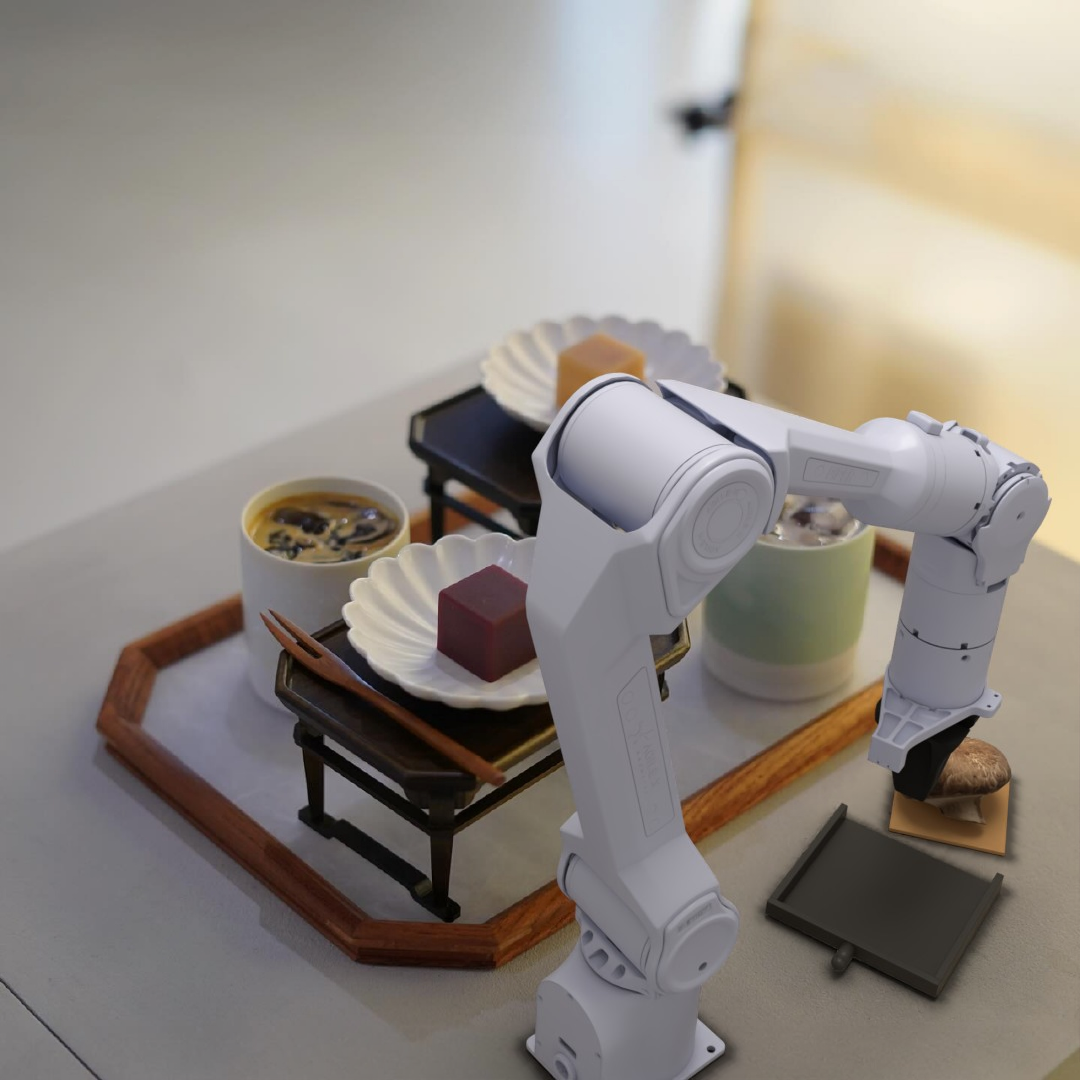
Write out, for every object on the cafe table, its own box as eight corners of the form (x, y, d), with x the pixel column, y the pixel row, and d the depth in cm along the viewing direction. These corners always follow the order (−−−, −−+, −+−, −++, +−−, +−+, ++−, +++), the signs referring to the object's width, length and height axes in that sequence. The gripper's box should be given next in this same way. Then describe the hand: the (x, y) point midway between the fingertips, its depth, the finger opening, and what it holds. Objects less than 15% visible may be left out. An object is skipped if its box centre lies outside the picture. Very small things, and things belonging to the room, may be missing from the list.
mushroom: (1019, 831, 103) (999, 740, 103) (902, 847, 106) (882, 759, 106) (1023, 805, 111) (1004, 721, 111) (914, 822, 113) (895, 739, 114)
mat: (1004, 856, 106) (1004, 853, 106) (888, 830, 108) (889, 827, 108) (1009, 781, 113) (1010, 778, 112) (900, 758, 114) (900, 755, 114)
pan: (838, 818, 109) (841, 802, 108) (1000, 891, 103) (1004, 875, 102) (749, 936, 100) (752, 919, 99) (921, 1023, 94) (925, 1006, 93)
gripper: (966, 710, 83) (926, 884, 91) (1054, 586, 94) (1012, 753, 101) (848, 663, 87) (820, 835, 94) (946, 549, 97) (913, 713, 104)
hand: (912, 790), depth 98 cm, fingers closed
